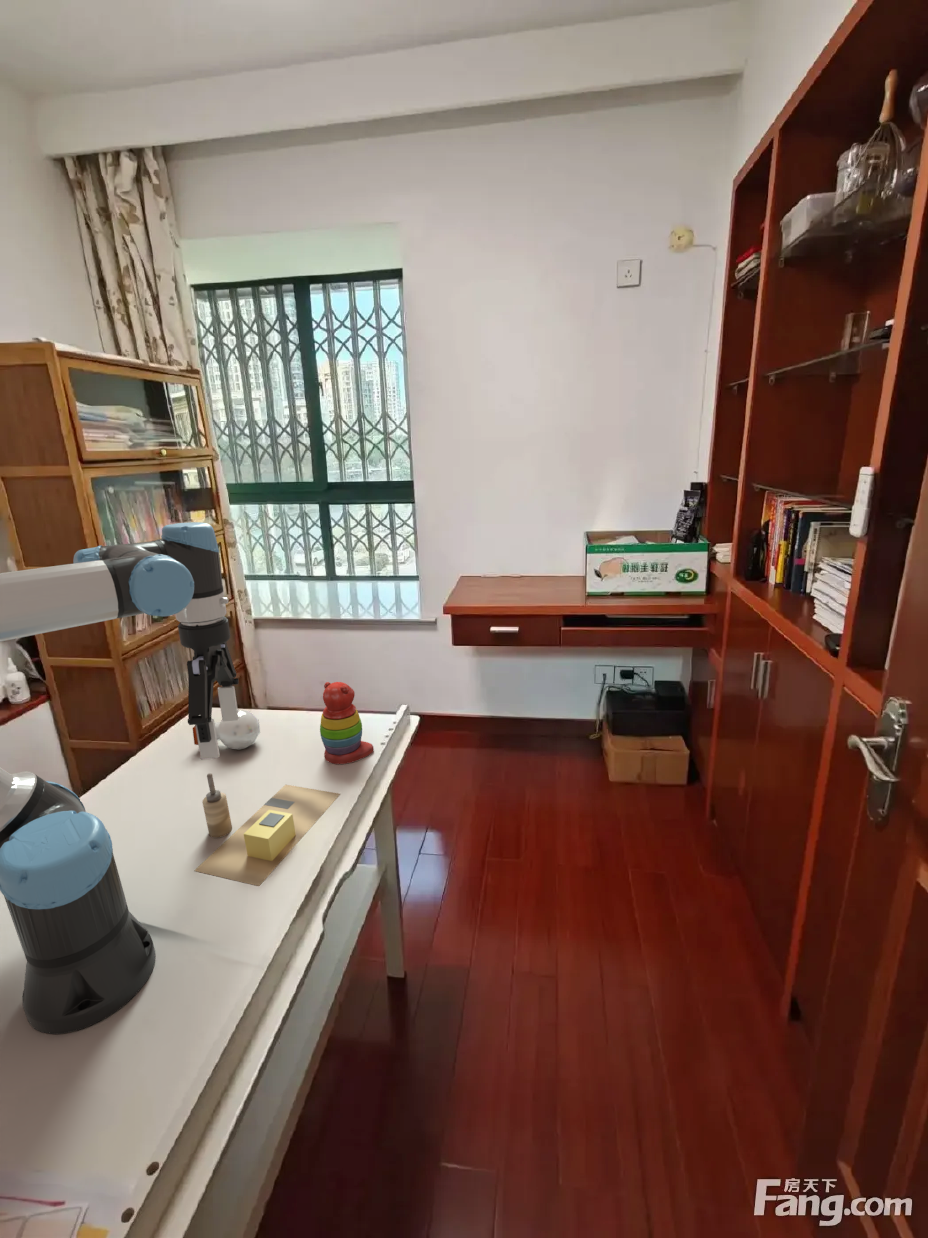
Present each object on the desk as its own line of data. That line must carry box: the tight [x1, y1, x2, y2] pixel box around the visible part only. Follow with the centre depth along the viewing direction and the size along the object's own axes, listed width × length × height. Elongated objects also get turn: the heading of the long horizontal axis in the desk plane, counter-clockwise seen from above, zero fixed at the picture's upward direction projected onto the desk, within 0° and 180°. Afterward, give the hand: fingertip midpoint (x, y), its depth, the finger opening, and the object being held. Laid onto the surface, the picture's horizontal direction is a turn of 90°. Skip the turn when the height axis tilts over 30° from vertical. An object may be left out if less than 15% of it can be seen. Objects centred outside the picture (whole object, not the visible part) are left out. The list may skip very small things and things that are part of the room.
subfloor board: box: [194, 784, 341, 887], centre depth 107 cm, size 26×18×1 cm
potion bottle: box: [192, 708, 261, 751], centre depth 138 cm, size 9×10×15 cm
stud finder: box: [244, 810, 296, 861], centre depth 102 cm, size 7×5×5 cm
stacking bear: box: [319, 681, 375, 765], centre depth 131 cm, size 11×10×18 cm
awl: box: [201, 772, 233, 839], centre depth 105 cm, size 4×4×13 cm
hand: (221, 737), depth 100 cm, fingers open, 13 cm apart
